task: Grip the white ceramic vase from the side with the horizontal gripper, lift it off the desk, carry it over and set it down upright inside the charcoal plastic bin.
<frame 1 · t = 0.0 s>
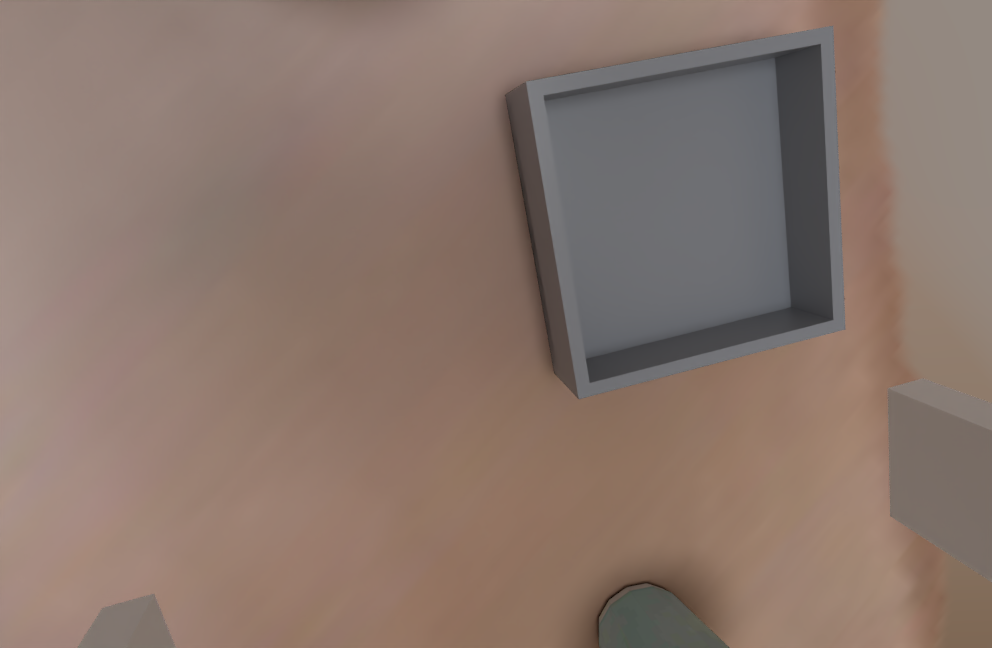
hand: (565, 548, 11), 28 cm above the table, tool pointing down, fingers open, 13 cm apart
disposable coffee cup: (638, 618, 46), on the table
bin: (661, 213, 39), on the table
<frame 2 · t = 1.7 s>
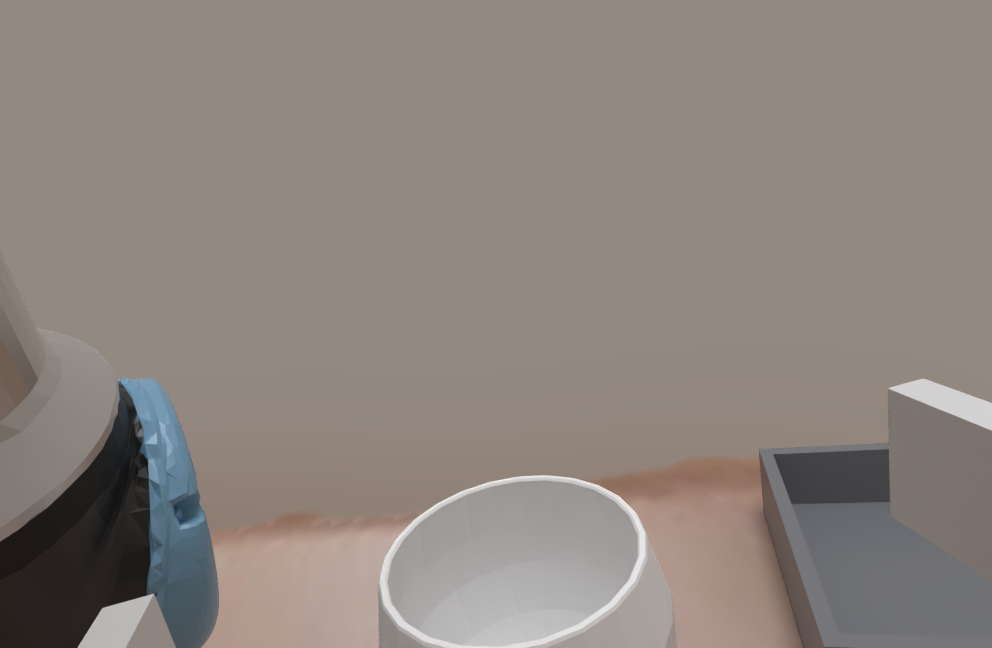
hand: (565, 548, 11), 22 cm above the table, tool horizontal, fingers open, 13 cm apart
bin: (960, 599, 34), on the table
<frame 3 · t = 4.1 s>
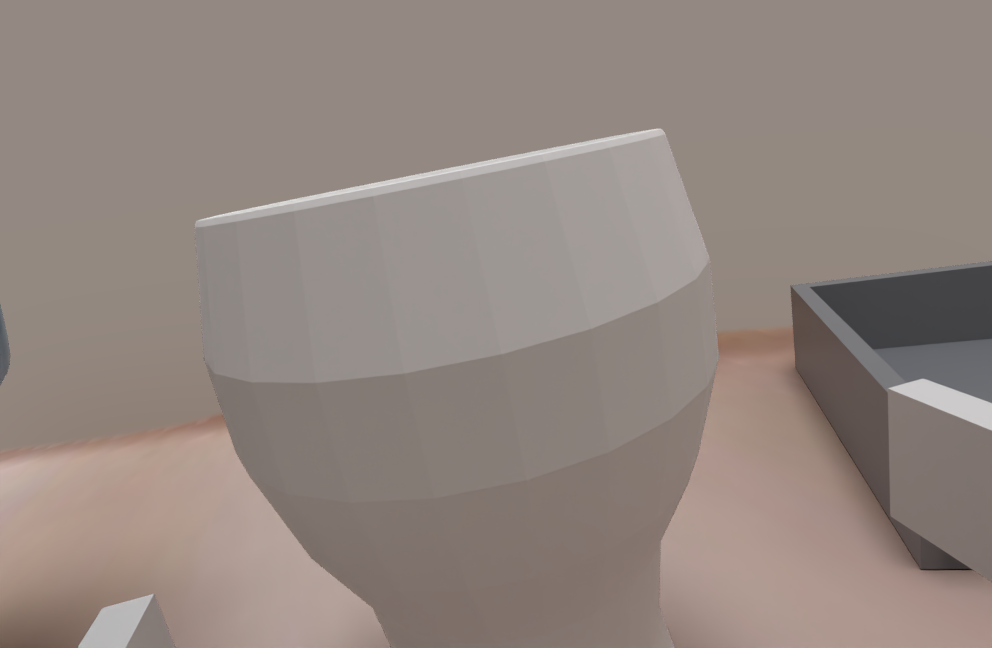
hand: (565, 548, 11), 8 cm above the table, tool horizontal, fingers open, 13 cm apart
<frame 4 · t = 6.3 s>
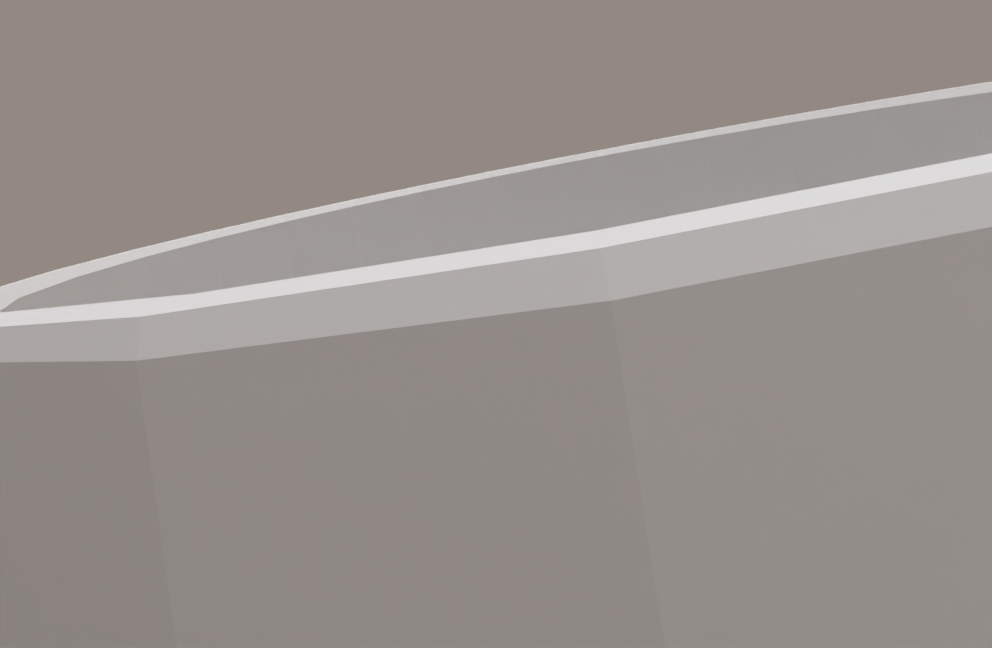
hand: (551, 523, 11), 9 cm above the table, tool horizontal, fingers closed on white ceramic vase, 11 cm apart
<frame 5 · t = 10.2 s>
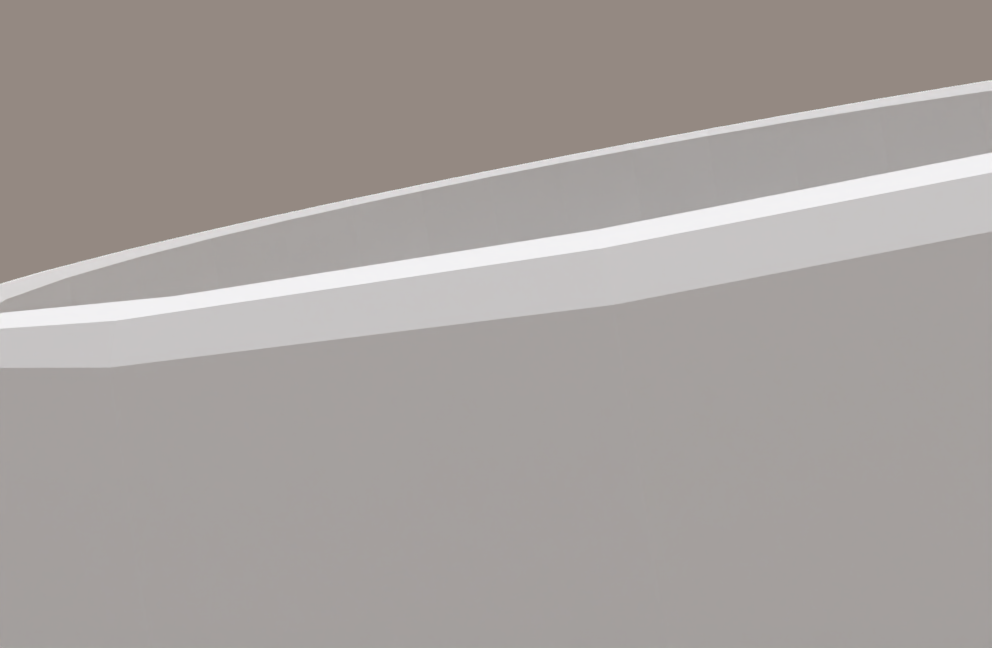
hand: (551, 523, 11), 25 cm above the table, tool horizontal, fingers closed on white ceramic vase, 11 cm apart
when the fingers open (11 cm above the table, at t = 14.0 s): white ceramic vase drops 1 cm, resting on bin.
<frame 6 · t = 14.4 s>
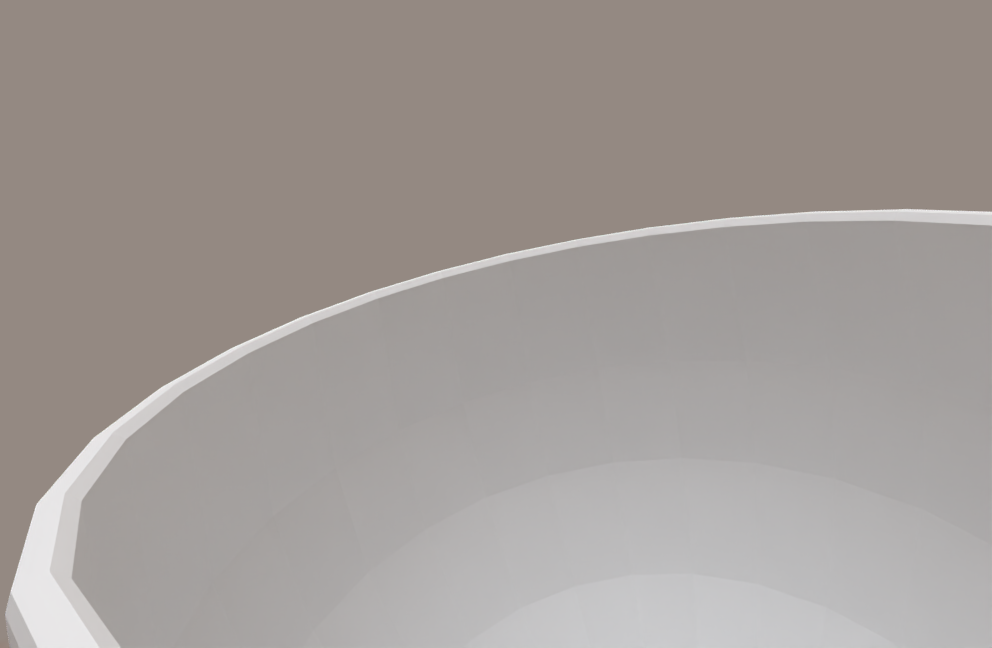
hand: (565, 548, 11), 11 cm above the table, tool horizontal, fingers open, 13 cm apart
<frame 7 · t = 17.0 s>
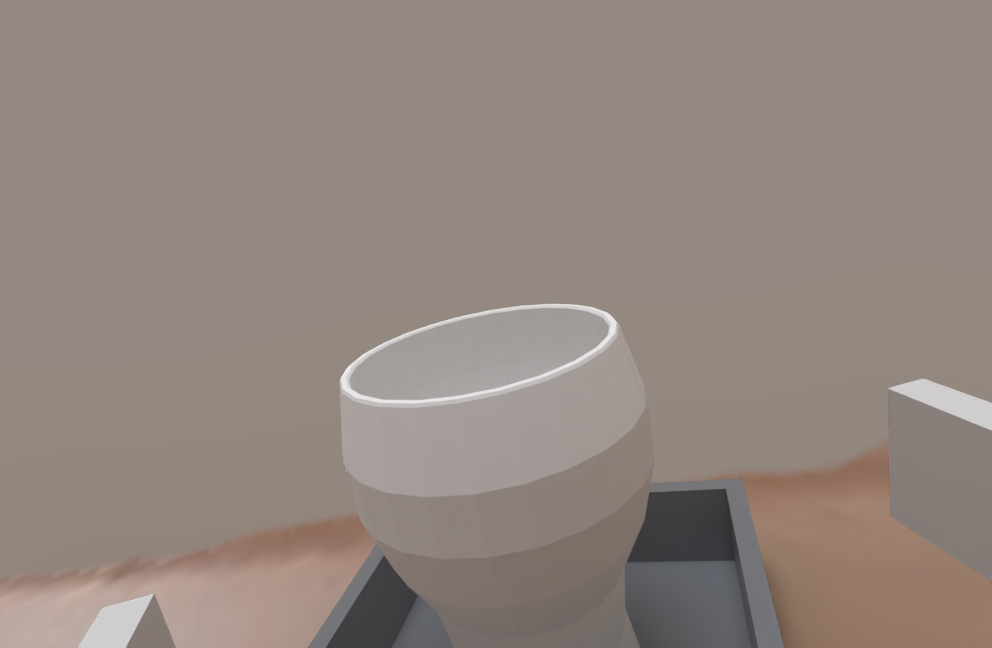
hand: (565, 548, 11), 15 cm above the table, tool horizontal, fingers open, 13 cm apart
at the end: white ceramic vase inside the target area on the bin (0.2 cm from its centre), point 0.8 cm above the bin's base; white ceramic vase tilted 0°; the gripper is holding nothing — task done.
